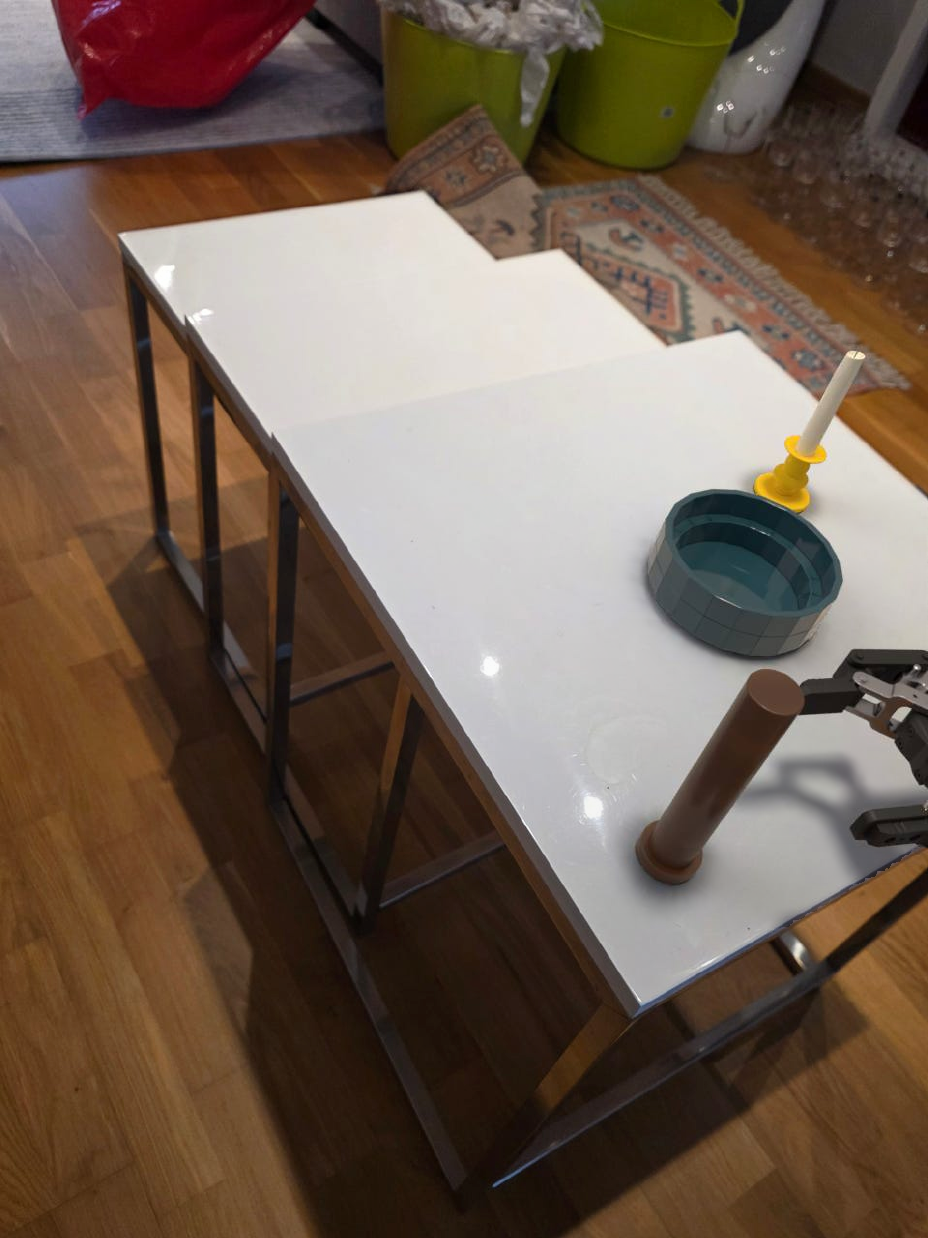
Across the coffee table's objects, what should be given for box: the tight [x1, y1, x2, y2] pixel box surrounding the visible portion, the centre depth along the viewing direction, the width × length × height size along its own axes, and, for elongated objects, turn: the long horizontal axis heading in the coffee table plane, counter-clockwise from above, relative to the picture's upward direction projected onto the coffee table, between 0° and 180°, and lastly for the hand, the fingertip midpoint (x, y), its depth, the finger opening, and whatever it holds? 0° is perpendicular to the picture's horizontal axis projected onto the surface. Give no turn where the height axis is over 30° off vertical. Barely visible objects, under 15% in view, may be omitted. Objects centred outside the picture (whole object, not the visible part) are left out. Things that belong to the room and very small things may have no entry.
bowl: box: [647, 488, 844, 657], centre depth 77 cm, size 14×14×5 cm
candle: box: [753, 347, 866, 514], centre depth 83 cm, size 5×5×16 cm
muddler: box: [635, 668, 804, 885], centre depth 55 cm, size 4×4×17 cm
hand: (824, 760), depth 55 cm, fingers open, 8 cm apart
